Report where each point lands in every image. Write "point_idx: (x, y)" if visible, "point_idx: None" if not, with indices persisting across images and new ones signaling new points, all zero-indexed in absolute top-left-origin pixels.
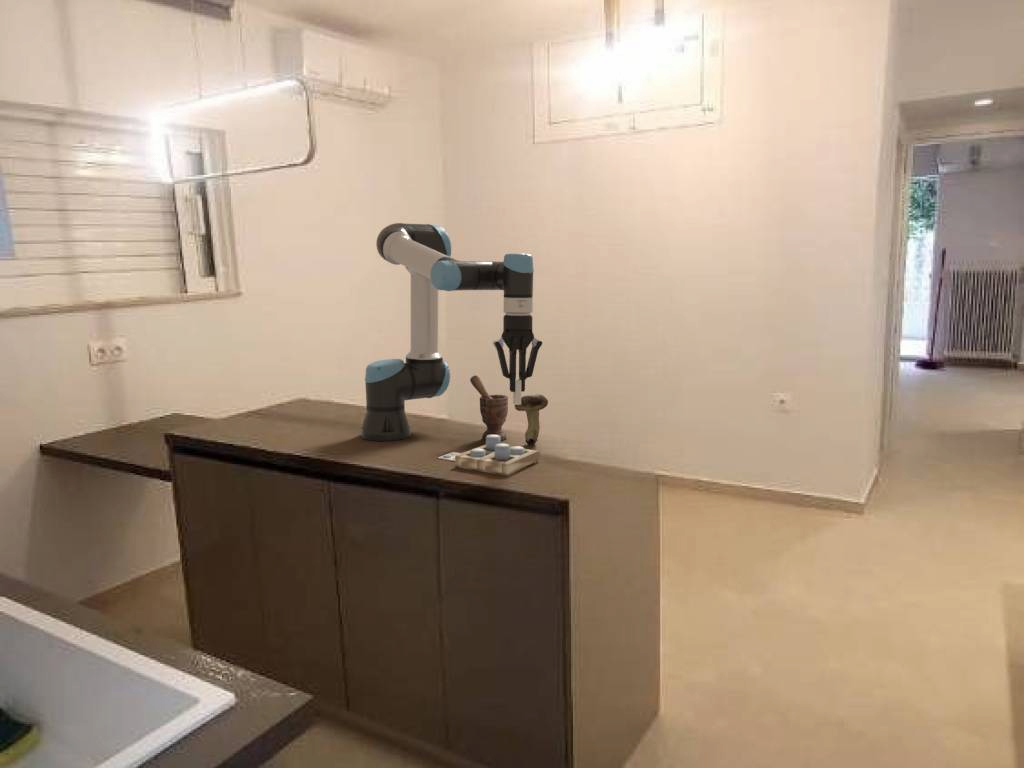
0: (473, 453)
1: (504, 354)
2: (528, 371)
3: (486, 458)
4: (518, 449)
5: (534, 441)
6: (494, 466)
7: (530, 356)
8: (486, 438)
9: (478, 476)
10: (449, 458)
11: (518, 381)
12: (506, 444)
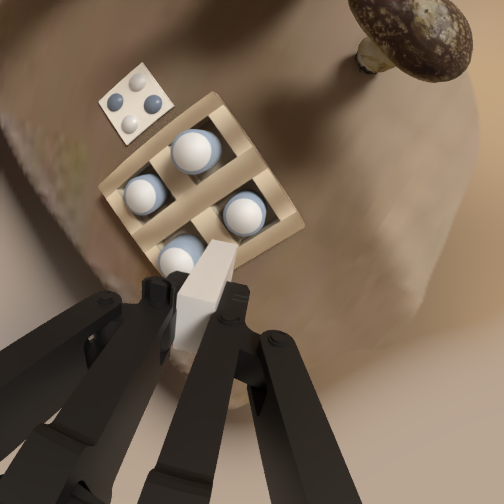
0: (128, 205)
1: (23, 441)
2: (250, 402)
3: (152, 237)
4: (240, 233)
5: (374, 73)
6: None
7: (284, 478)
8: (171, 153)
9: (135, 265)
10: (115, 117)
11: (190, 348)
12: (188, 263)
